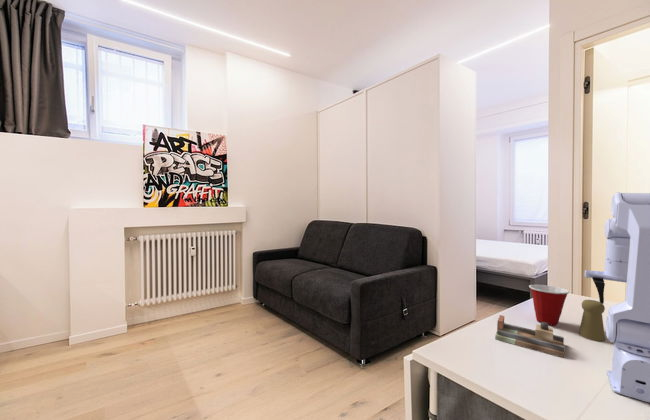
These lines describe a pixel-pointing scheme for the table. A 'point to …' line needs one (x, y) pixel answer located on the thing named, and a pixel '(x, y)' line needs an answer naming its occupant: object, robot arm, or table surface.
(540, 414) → the table surface
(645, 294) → the robot arm
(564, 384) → the table surface
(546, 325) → the slider
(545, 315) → the plastic cup
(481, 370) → the table surface
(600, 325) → the brown rounded lump
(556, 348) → the track
